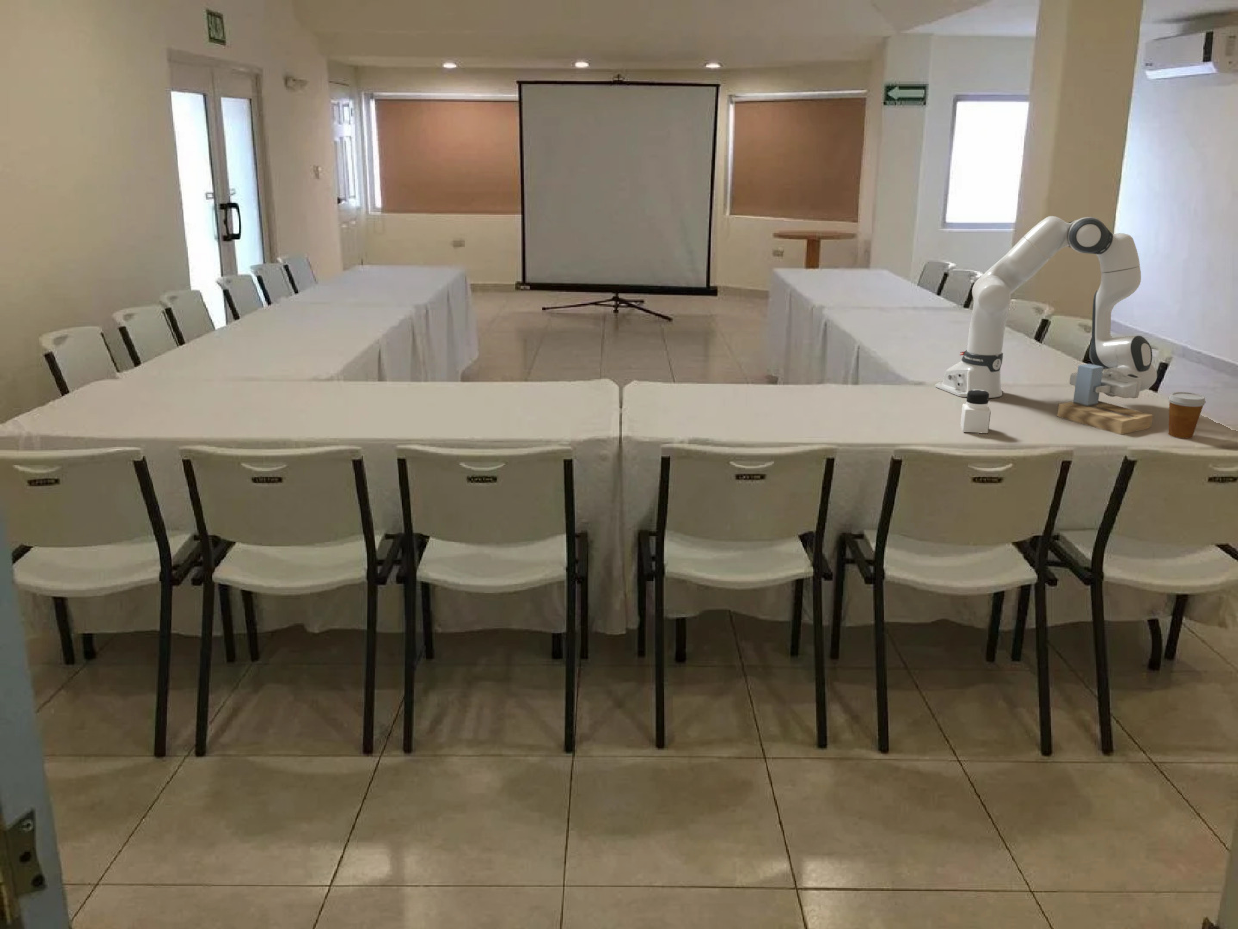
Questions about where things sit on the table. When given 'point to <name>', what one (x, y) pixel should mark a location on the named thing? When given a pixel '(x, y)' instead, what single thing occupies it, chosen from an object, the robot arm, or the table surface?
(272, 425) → the table surface
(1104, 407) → the board
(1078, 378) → the block
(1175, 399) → the disposable coffee cup
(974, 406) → the medicine bottle
